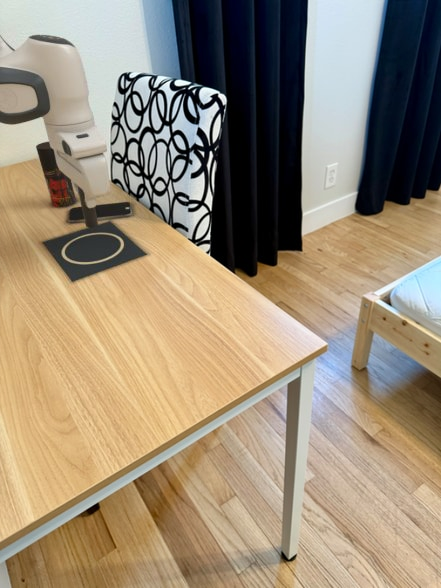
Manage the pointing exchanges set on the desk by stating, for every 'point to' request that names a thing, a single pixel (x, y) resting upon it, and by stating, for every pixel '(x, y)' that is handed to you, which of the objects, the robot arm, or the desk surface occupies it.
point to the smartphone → (102, 212)
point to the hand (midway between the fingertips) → (87, 203)
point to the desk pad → (93, 250)
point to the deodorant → (55, 178)
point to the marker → (88, 211)
